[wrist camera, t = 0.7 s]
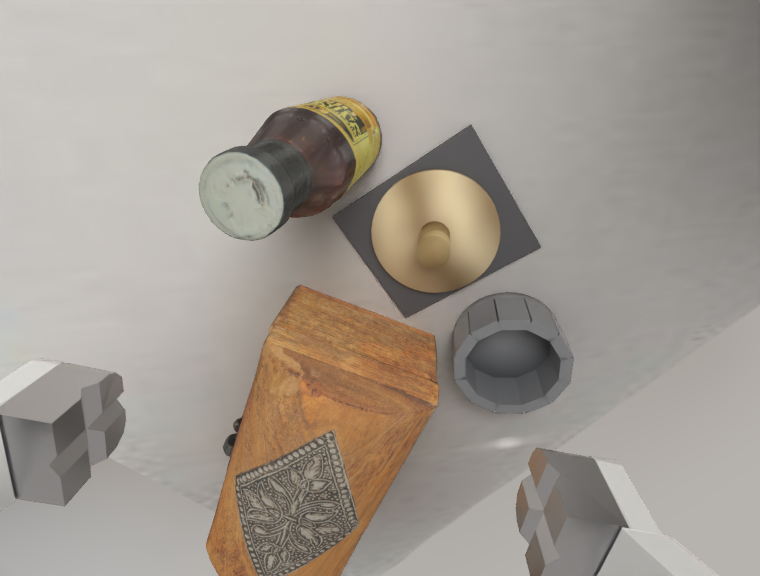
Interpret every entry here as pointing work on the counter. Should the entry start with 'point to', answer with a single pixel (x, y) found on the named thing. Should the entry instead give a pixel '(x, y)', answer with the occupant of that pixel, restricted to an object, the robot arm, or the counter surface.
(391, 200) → the lid
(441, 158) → the mat
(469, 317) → the bowl
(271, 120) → the sauce bottle
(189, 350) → the counter surface
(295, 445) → the wooden box
